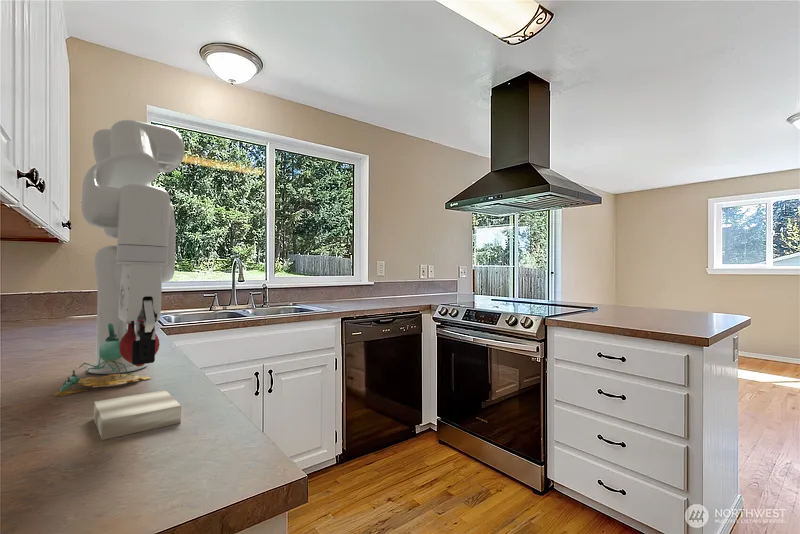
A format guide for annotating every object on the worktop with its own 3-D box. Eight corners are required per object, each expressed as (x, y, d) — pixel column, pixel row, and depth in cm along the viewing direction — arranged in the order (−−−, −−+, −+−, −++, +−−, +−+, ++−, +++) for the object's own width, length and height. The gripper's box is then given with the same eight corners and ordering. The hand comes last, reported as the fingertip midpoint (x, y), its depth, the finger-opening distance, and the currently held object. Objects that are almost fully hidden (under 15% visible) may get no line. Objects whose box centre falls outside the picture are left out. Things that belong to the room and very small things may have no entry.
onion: (138, 372, 65) (140, 323, 66) (109, 369, 67) (111, 321, 67) (166, 364, 71) (167, 319, 71) (139, 361, 72) (140, 318, 72)
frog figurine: (47, 389, 84) (60, 319, 86) (144, 382, 97) (153, 322, 99) (54, 399, 78) (67, 324, 79) (156, 391, 91) (166, 326, 92)
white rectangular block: (93, 418, 69) (94, 401, 69) (164, 405, 77) (165, 389, 77) (102, 440, 61) (102, 420, 61) (180, 422, 69) (181, 405, 69)
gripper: (109, 256, 73) (105, 353, 73) (126, 255, 60) (121, 373, 60) (156, 257, 78) (152, 349, 78) (180, 257, 65) (176, 366, 65)
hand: (139, 358), depth 69 cm, fingers closed on onion, 5 cm apart
